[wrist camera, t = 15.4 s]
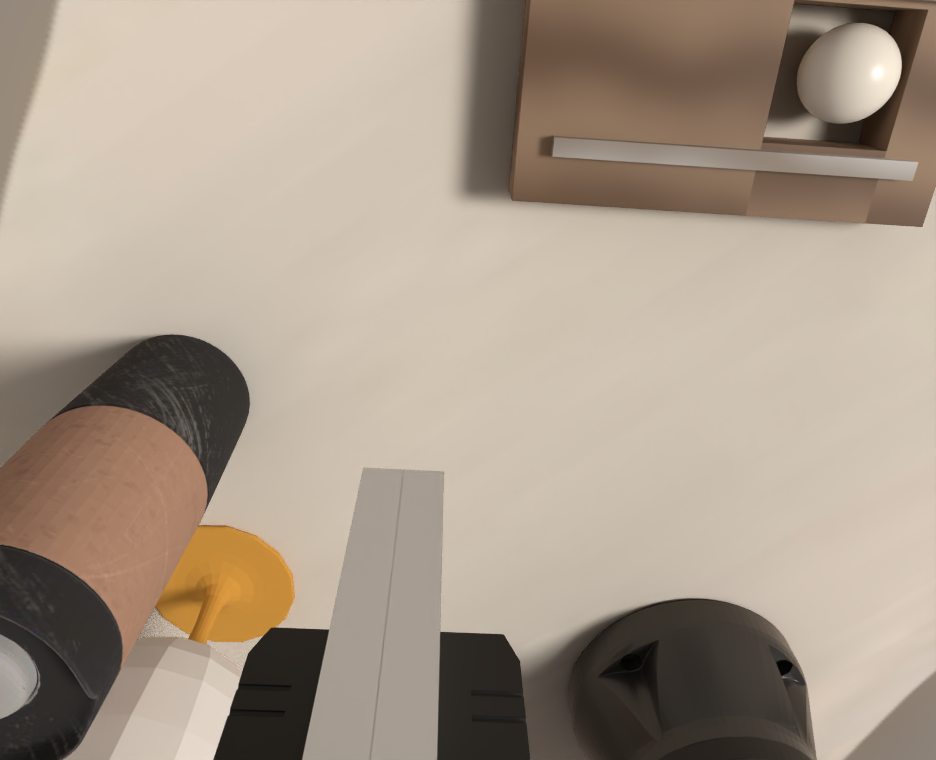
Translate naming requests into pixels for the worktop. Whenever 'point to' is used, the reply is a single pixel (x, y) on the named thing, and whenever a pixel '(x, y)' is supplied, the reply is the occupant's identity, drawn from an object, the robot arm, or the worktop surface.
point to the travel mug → (104, 530)
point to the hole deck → (709, 114)
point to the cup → (192, 652)
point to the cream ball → (849, 73)
